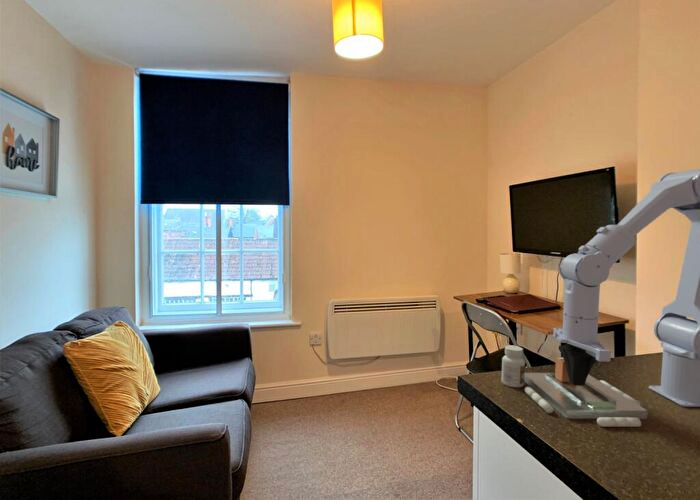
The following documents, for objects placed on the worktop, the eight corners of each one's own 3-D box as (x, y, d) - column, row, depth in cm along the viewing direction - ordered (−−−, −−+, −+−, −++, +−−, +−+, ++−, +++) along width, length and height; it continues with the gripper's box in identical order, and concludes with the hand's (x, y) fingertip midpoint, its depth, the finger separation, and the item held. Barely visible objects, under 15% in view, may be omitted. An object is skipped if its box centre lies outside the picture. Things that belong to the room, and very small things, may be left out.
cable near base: (603, 385, 76) (603, 379, 76) (640, 408, 66) (640, 401, 66) (596, 385, 76) (596, 379, 76) (632, 408, 66) (633, 401, 66)
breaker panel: (586, 379, 79) (586, 370, 79) (646, 419, 63) (647, 407, 63) (522, 379, 79) (522, 370, 79) (566, 418, 63) (567, 406, 63)
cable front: (530, 392, 73) (530, 385, 73) (553, 413, 64) (553, 405, 64) (523, 392, 73) (523, 385, 73) (545, 413, 64) (545, 405, 64)
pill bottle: (526, 389, 74) (528, 352, 74) (503, 387, 75) (505, 350, 74) (521, 380, 78) (522, 345, 78) (499, 378, 79) (500, 343, 79)
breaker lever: (569, 376, 76) (570, 356, 76) (576, 381, 73) (577, 360, 73) (555, 376, 76) (556, 356, 76) (561, 381, 73) (562, 360, 73)
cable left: (634, 423, 61) (634, 415, 61) (640, 428, 60) (641, 420, 60) (594, 423, 61) (595, 415, 61) (600, 428, 60) (600, 420, 60)
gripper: (540, 307, 77) (537, 369, 78) (583, 325, 63) (579, 401, 64) (573, 307, 77) (570, 369, 78) (624, 326, 63) (619, 402, 64)
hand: (576, 384), depth 71 cm, fingers closed
